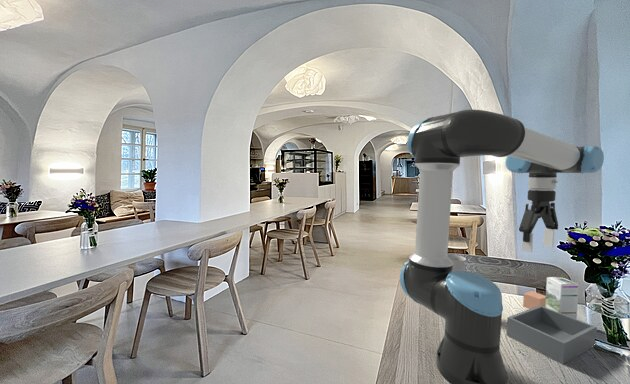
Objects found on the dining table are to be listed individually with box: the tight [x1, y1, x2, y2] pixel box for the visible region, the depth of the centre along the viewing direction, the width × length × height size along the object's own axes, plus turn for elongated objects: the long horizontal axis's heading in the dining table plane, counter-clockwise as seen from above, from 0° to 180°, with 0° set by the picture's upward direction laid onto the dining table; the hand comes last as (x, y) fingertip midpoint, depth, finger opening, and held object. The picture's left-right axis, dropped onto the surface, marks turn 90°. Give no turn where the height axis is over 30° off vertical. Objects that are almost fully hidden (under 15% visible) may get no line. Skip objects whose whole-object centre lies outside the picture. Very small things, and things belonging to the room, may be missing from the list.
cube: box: [522, 290, 546, 310], centre depth 97 cm, size 5×5×5 cm
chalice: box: [447, 253, 467, 272], centre depth 99 cm, size 7×7×18 cm
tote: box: [506, 306, 598, 365], centre depth 78 cm, size 18×14×6 cm
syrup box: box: [545, 276, 580, 320], centre depth 87 cm, size 6×6×14 cm
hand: (537, 248), depth 96 cm, fingers open, 13 cm apart
